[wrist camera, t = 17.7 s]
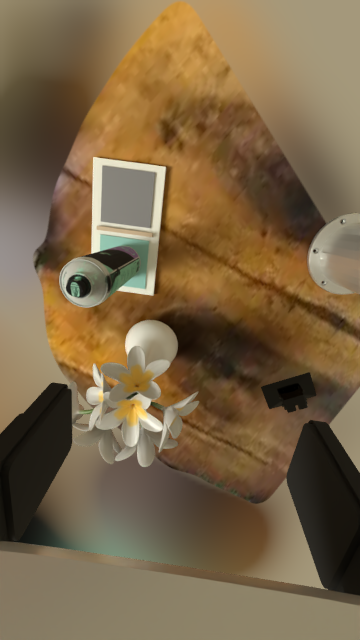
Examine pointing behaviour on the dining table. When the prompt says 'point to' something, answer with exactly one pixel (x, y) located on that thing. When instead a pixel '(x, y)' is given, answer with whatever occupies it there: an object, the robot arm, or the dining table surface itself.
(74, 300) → the spray can
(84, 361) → the dining table surface
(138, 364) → the flower vase
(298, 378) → the black angular piece
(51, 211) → the dining table surface
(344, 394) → the dining table surface
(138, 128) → the dining table surface
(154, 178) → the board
